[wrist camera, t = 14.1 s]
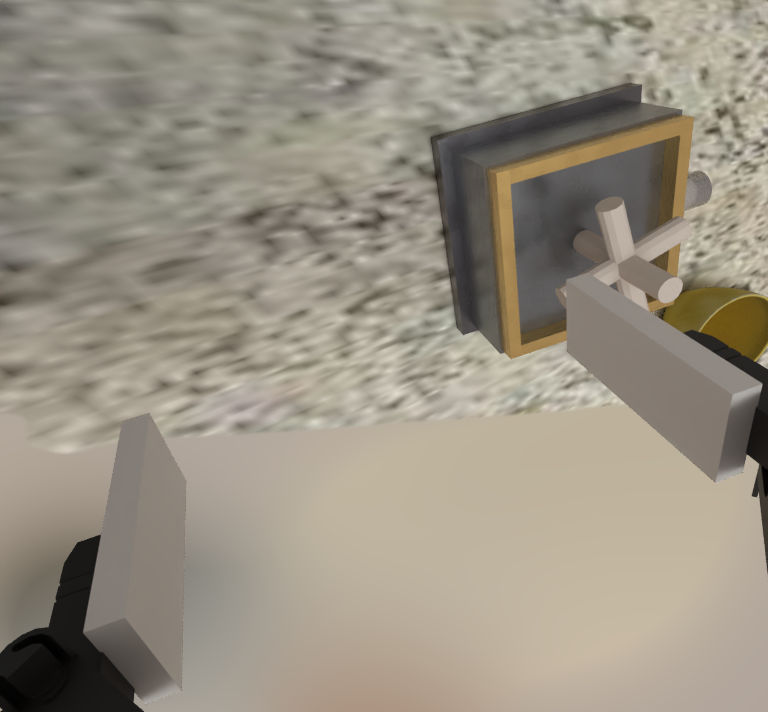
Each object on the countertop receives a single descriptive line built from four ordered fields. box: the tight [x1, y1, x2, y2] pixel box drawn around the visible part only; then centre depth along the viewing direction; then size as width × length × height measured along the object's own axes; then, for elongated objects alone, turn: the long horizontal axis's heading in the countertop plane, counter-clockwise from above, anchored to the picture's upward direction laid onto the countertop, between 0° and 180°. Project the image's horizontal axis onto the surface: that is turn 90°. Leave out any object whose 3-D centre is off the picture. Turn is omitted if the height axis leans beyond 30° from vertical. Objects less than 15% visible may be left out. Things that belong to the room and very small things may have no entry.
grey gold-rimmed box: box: [431, 83, 712, 359], centre depth 48 cm, size 18×22×9 cm
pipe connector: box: [555, 196, 691, 311], centre depth 41 cm, size 10×10×10 cm
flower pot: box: [663, 287, 768, 362], centre depth 59 cm, size 10×10×7 cm
